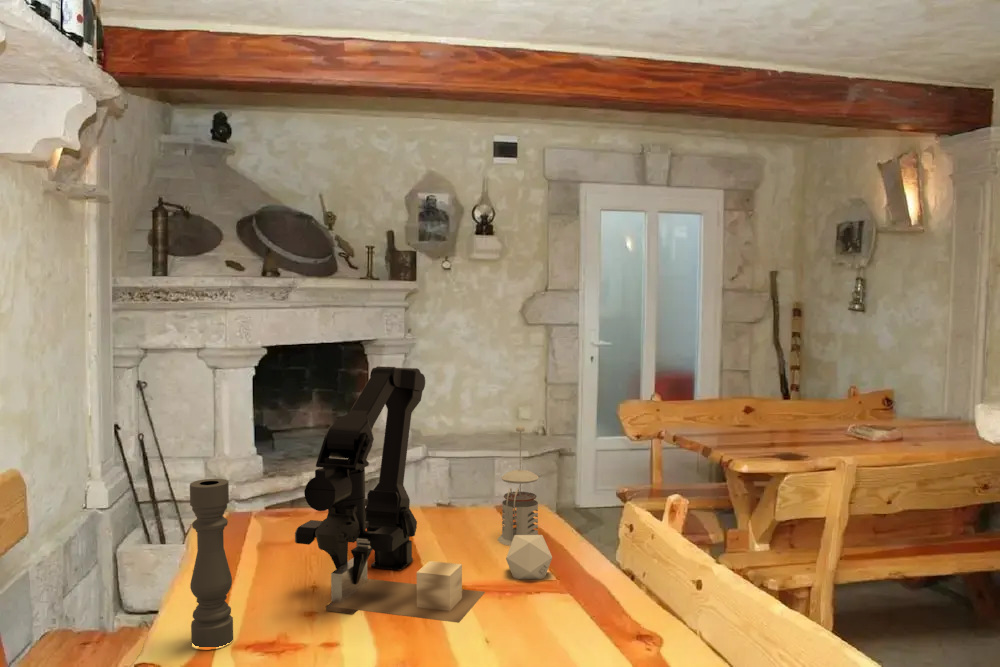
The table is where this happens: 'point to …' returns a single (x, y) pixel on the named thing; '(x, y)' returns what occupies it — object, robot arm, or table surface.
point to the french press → (518, 505)
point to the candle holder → (210, 565)
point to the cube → (439, 585)
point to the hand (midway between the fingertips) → (349, 583)
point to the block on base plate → (388, 597)
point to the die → (528, 557)
